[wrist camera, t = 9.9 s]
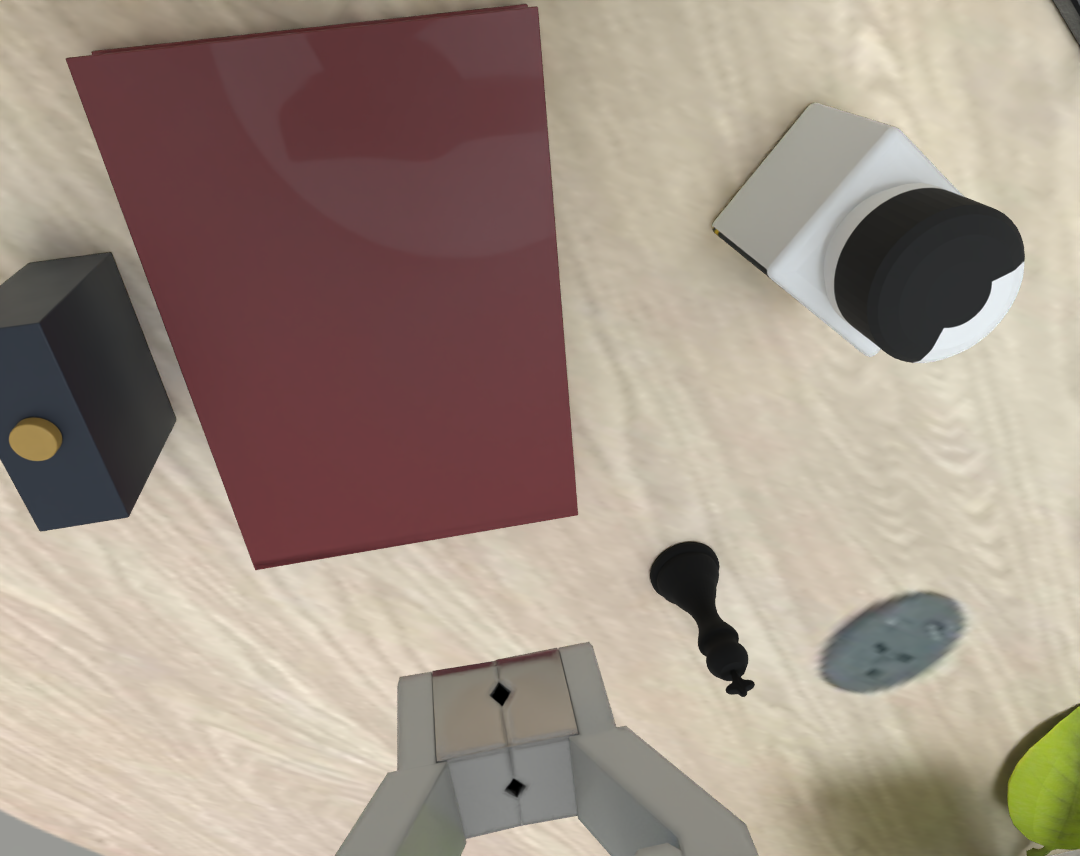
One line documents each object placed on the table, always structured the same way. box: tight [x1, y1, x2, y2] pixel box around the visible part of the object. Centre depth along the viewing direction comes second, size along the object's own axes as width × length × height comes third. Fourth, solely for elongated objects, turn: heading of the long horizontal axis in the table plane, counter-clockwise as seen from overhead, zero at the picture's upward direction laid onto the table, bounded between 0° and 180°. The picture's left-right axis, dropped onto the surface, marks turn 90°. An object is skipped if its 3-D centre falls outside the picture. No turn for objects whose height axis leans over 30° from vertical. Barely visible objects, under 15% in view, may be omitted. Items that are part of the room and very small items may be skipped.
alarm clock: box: [0, 253, 176, 531], centre depth 32 cm, size 9×7×8 cm
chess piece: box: [650, 542, 755, 697], centre depth 44 cm, size 4×4×10 cm
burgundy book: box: [66, 4, 578, 570], centre depth 36 cm, size 24×17×3 cm
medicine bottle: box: [712, 103, 1025, 363], centre depth 33 cm, size 7×7×12 cm
